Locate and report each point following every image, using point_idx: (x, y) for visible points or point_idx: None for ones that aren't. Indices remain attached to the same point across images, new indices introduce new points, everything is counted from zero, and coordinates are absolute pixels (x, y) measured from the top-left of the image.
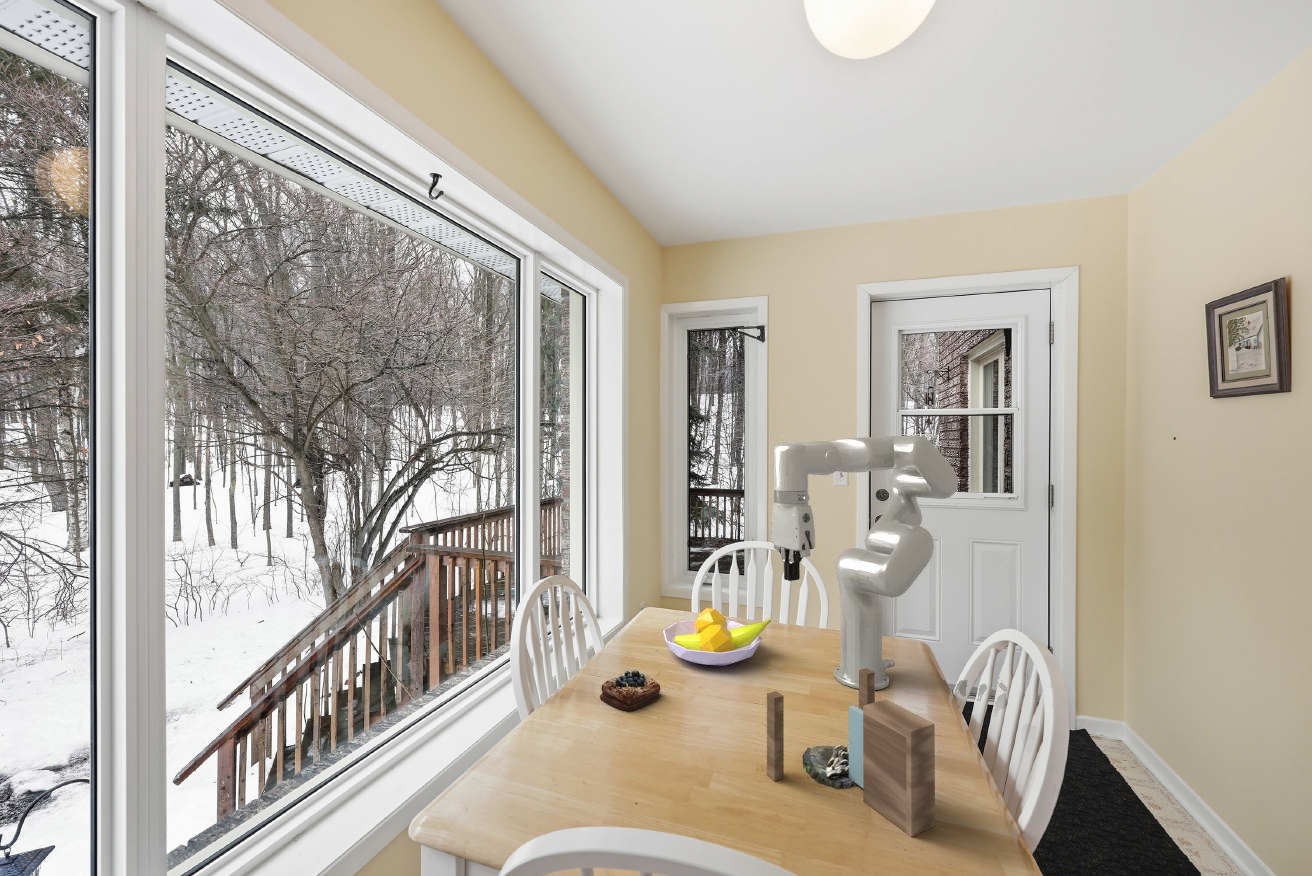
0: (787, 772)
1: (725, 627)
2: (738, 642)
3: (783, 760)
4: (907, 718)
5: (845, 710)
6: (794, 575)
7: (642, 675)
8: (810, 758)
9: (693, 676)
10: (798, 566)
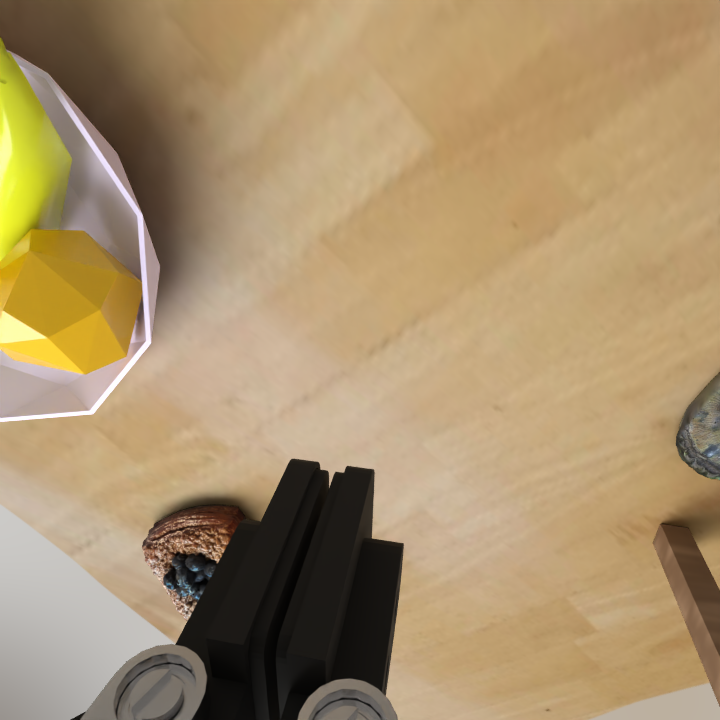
0: (680, 508)
1: None
2: (49, 191)
3: (703, 558)
4: None
5: (601, 120)
6: (397, 604)
7: (197, 569)
8: (708, 458)
9: (159, 376)
10: (386, 656)
